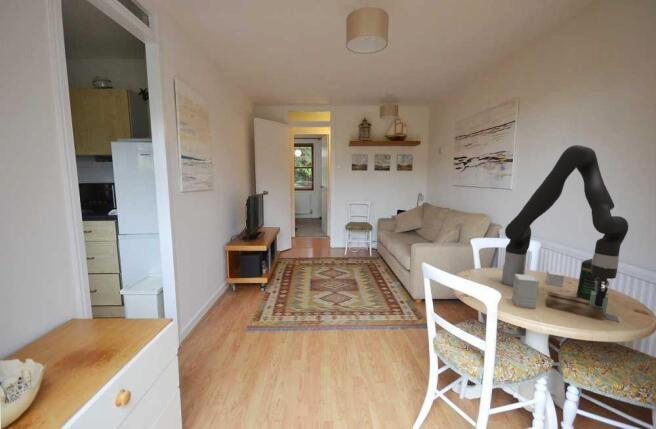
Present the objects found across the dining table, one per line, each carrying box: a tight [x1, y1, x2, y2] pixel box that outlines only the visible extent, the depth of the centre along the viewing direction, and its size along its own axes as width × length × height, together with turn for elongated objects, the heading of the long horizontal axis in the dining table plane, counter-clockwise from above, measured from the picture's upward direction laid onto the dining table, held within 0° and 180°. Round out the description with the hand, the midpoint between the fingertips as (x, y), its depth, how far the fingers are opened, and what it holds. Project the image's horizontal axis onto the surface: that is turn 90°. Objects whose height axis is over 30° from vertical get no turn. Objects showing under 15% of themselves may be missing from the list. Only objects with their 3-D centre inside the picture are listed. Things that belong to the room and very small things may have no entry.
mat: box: [603, 313, 620, 323], centre depth 115 cm, size 4×6×1 cm
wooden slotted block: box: [545, 291, 604, 321], centre depth 122 cm, size 18×11×4 cm, turn 50°
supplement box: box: [511, 274, 539, 309], centre depth 125 cm, size 7×7×13 cm
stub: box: [589, 291, 610, 316], centre depth 117 cm, size 5×2×9 cm, turn 50°
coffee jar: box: [576, 258, 598, 300], centre depth 132 cm, size 10×8×19 cm
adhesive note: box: [545, 270, 565, 288], centre depth 150 cm, size 6×6×6 cm
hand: (598, 304), depth 117 cm, fingers closed on stub
